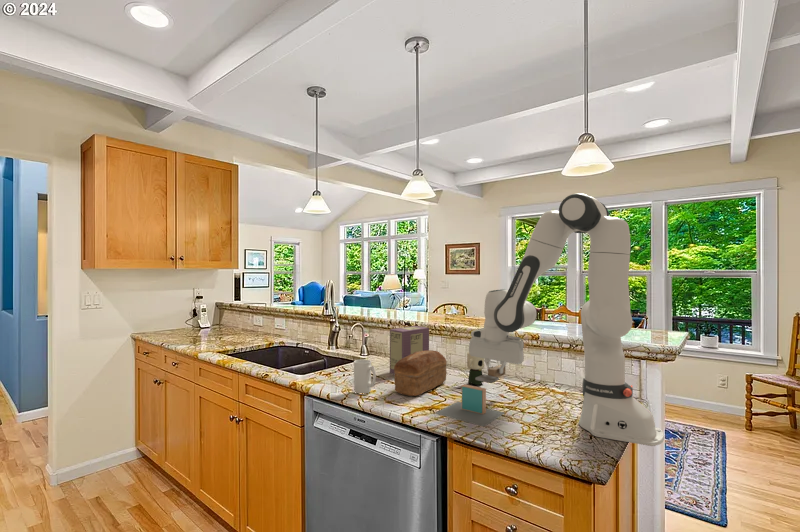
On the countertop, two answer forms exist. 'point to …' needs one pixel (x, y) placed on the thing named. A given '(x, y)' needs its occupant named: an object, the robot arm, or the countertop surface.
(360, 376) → the mug
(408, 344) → the box
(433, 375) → the bread
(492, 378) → the turner
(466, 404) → the block
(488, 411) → the gray rectangular plate
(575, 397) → the countertop surface
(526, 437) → the countertop surface
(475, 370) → the character mug
